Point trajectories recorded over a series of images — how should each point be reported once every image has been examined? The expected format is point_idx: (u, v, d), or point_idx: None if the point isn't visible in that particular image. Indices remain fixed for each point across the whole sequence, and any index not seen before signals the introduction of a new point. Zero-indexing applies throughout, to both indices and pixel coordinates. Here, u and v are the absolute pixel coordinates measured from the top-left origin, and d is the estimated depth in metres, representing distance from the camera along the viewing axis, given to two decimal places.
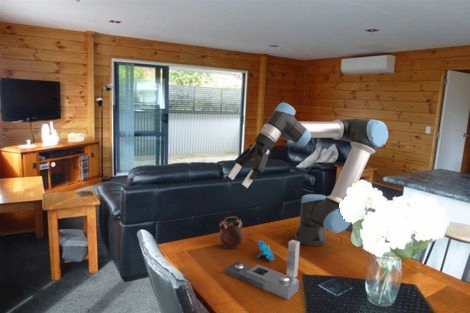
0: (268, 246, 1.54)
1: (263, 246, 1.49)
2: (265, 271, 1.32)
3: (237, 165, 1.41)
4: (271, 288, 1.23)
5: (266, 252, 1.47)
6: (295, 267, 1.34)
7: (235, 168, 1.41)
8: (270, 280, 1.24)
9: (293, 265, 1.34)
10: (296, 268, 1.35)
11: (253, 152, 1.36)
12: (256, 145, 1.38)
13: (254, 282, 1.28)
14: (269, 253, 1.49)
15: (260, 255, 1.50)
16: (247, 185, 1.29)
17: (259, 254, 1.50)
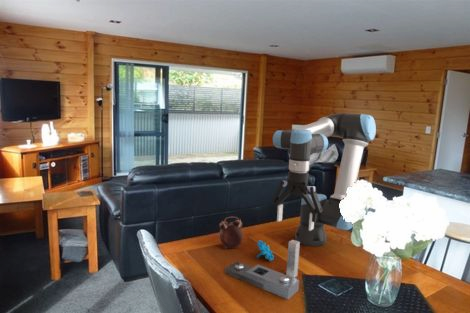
0: (268, 246, 1.54)
1: (263, 246, 1.49)
2: (265, 271, 1.32)
3: (280, 207, 1.35)
4: (271, 288, 1.23)
5: (266, 252, 1.47)
6: (295, 267, 1.34)
7: (280, 210, 1.36)
8: (270, 280, 1.24)
9: (293, 265, 1.34)
10: (296, 268, 1.35)
11: (294, 192, 1.30)
12: (292, 183, 1.31)
13: (254, 282, 1.28)
14: (269, 253, 1.49)
15: (260, 255, 1.50)
16: (312, 227, 1.29)
17: (259, 254, 1.50)
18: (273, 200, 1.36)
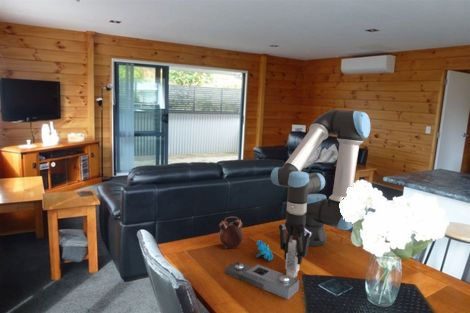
0: (268, 246, 1.54)
1: (262, 246, 1.50)
2: (265, 271, 1.32)
3: None
4: (271, 288, 1.23)
5: (264, 252, 1.47)
6: None
7: None
8: (270, 280, 1.24)
9: (293, 265, 1.34)
10: None
11: (292, 232, 1.33)
12: None
13: (254, 282, 1.28)
14: (268, 253, 1.49)
15: (259, 255, 1.50)
16: (298, 268, 1.35)
17: (258, 254, 1.50)
18: (281, 247, 1.36)
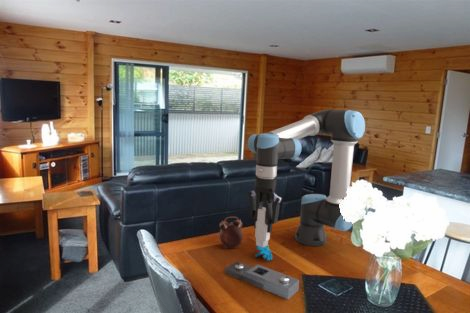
0: (267, 246, 1.54)
1: None
2: (265, 271, 1.32)
3: None
4: (271, 288, 1.23)
5: (264, 252, 1.47)
6: None
7: None
8: (270, 280, 1.24)
9: (262, 233, 1.26)
10: None
11: (261, 198, 1.25)
12: (257, 187, 1.26)
13: (254, 282, 1.28)
14: (267, 253, 1.49)
15: (258, 254, 1.50)
16: (268, 237, 1.27)
17: None
18: (251, 215, 1.29)
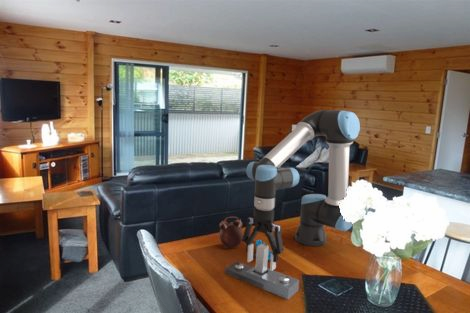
0: None
1: None
2: None
3: (250, 247, 1.31)
4: (271, 288, 1.23)
5: None
6: (263, 272, 1.29)
7: (250, 250, 1.32)
8: (270, 280, 1.24)
9: (261, 271, 1.28)
10: None
11: (260, 228, 1.27)
12: (257, 219, 1.27)
13: (254, 282, 1.28)
14: None
15: None
16: (274, 267, 1.27)
17: None
18: (243, 240, 1.32)
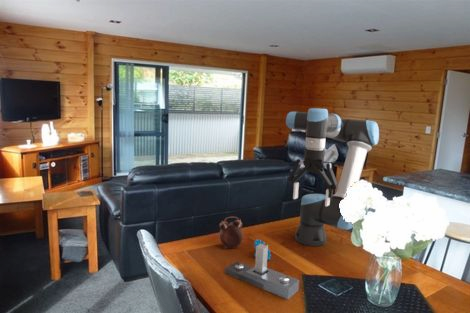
0: None
1: None
2: None
3: (296, 184, 1.39)
4: (271, 288, 1.23)
5: None
6: (263, 272, 1.29)
7: (296, 188, 1.39)
8: (270, 280, 1.24)
9: (260, 270, 1.28)
10: None
11: (310, 169, 1.34)
12: (308, 160, 1.34)
13: (254, 282, 1.28)
14: None
15: None
16: (328, 203, 1.33)
17: None
18: (289, 178, 1.40)
